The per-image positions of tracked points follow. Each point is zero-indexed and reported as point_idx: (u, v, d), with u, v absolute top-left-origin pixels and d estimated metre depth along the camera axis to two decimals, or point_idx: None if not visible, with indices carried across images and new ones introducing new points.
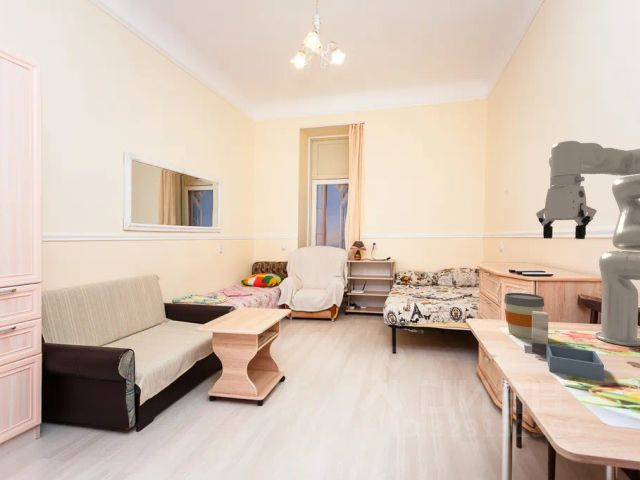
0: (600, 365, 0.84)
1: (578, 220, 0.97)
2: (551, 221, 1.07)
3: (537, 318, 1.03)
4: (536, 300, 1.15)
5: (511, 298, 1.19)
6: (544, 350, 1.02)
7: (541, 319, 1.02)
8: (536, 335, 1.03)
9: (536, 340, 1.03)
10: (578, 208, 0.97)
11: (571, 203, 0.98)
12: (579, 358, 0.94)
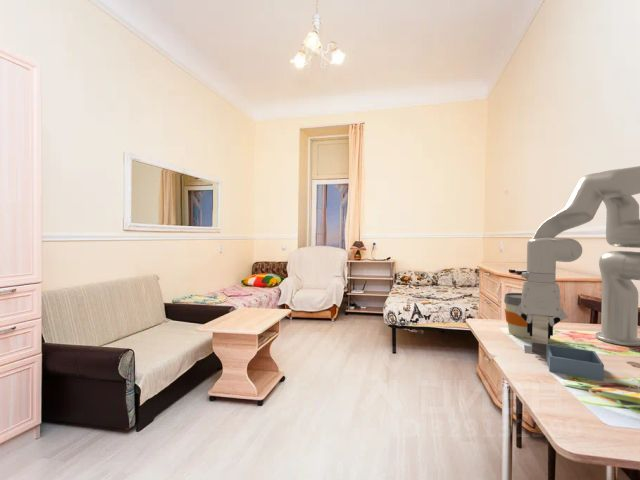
0: (600, 365, 0.84)
1: None
2: None
3: (537, 318, 1.03)
4: None
5: (511, 298, 1.19)
6: (544, 350, 1.02)
7: (541, 319, 1.02)
8: (536, 335, 1.03)
9: (536, 340, 1.03)
10: None
11: None
12: (579, 358, 0.94)
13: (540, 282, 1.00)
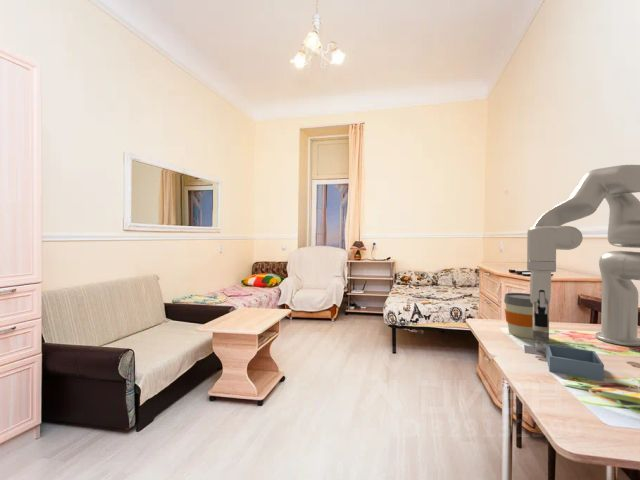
0: (600, 365, 0.84)
1: None
2: None
3: None
4: None
5: (511, 298, 1.19)
6: (533, 336, 1.04)
7: (533, 305, 1.05)
8: None
9: None
10: None
11: None
12: (579, 358, 0.94)
13: (527, 268, 1.06)
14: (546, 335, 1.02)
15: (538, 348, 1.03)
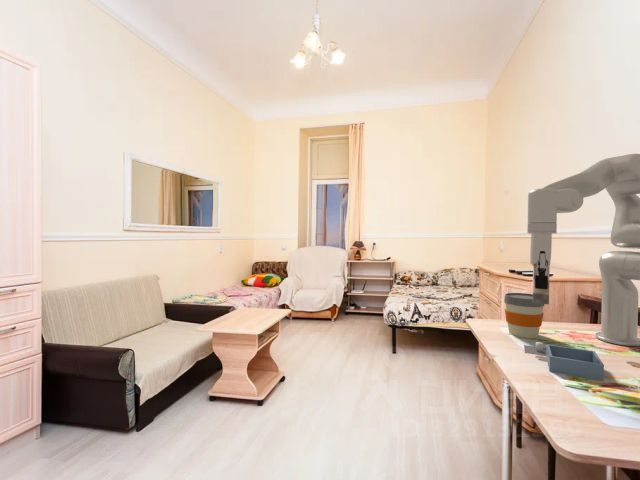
0: (600, 365, 0.84)
1: None
2: None
3: (533, 267, 1.05)
4: None
5: (511, 298, 1.19)
6: (533, 299, 1.04)
7: (533, 268, 1.04)
8: None
9: None
10: None
11: None
12: (579, 358, 0.94)
13: (527, 231, 1.05)
14: (546, 297, 1.01)
15: (538, 348, 1.03)
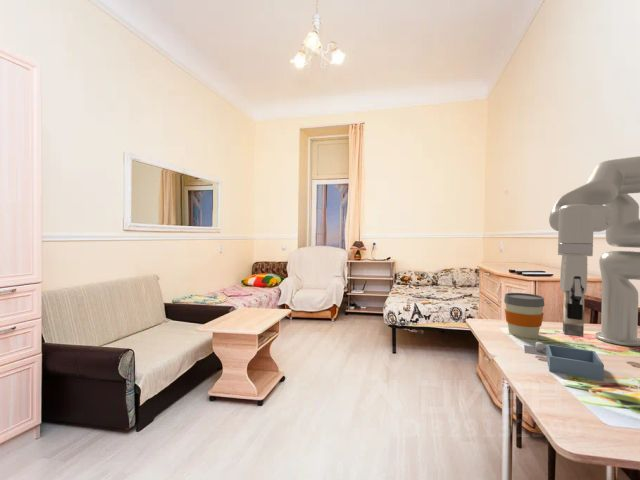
0: (600, 365, 0.84)
1: None
2: None
3: (564, 294, 0.92)
4: (536, 300, 1.15)
5: (511, 298, 1.19)
6: (564, 330, 0.91)
7: (564, 295, 0.91)
8: (563, 312, 0.92)
9: (563, 318, 0.92)
10: None
11: None
12: (579, 358, 0.94)
13: (558, 252, 0.92)
14: (580, 328, 0.88)
15: (538, 348, 1.03)
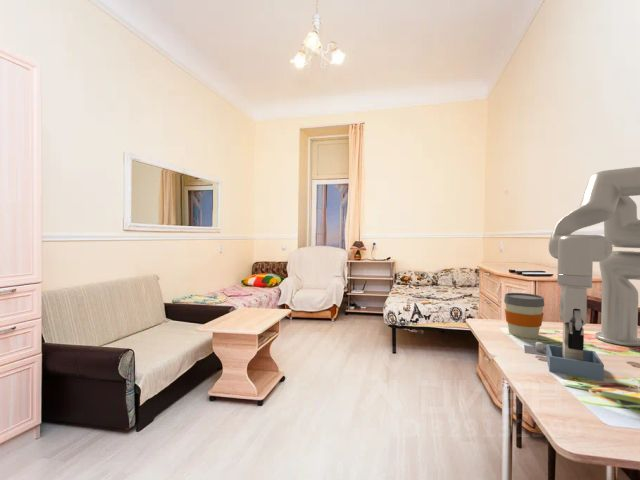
0: (600, 365, 0.84)
1: None
2: None
3: (563, 329, 0.93)
4: (536, 300, 1.15)
5: (511, 298, 1.19)
6: None
7: (564, 330, 0.92)
8: (563, 347, 0.93)
9: (563, 353, 0.93)
10: None
11: None
12: None
13: (557, 282, 0.93)
14: None
15: (538, 348, 1.03)
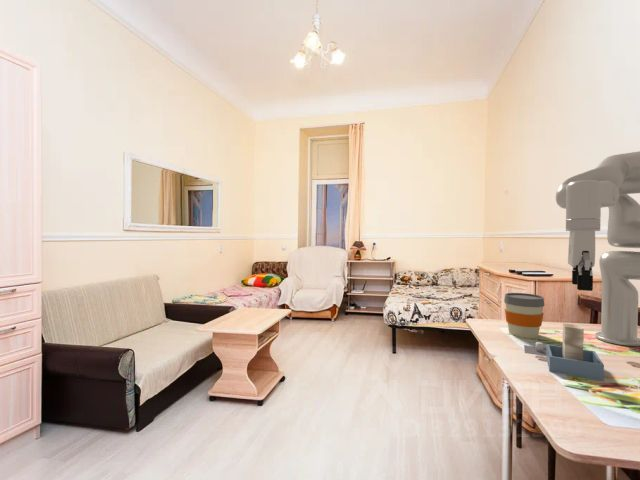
0: (600, 365, 0.84)
1: None
2: None
3: (563, 329, 0.93)
4: (536, 300, 1.15)
5: (511, 298, 1.19)
6: None
7: (564, 330, 0.92)
8: (563, 347, 0.93)
9: (563, 353, 0.93)
10: None
11: None
12: None
13: None
14: None
15: (538, 348, 1.03)
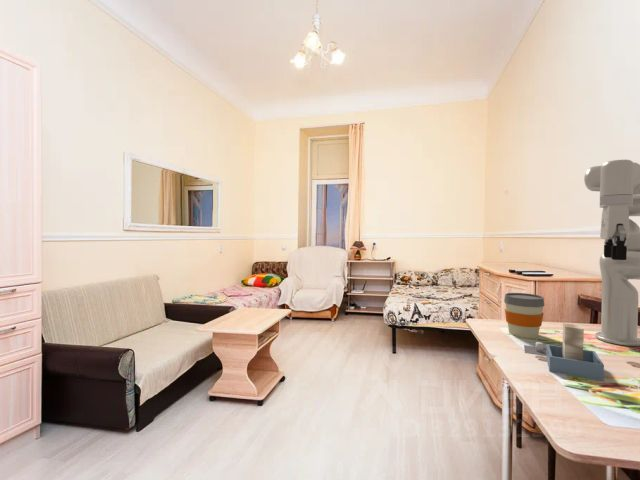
0: (600, 365, 0.84)
1: None
2: None
3: (563, 329, 0.93)
4: (536, 300, 1.15)
5: (511, 298, 1.19)
6: None
7: (564, 330, 0.92)
8: (563, 347, 0.93)
9: (563, 353, 0.93)
10: None
11: None
12: None
13: None
14: None
15: (538, 348, 1.03)
